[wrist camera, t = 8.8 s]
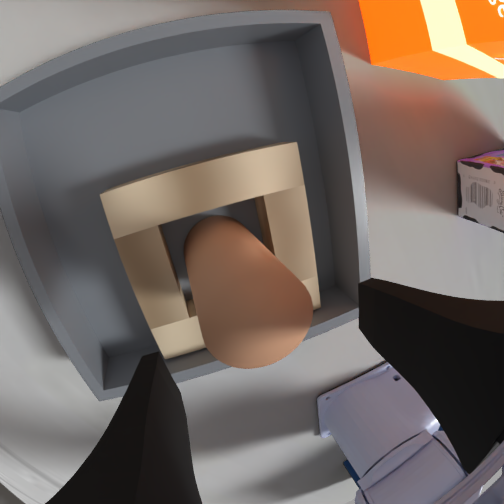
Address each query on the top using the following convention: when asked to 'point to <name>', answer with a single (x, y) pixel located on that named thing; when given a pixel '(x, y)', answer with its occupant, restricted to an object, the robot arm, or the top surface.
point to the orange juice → (437, 36)
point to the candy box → (482, 189)
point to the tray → (171, 156)
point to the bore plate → (199, 200)
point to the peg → (244, 295)
